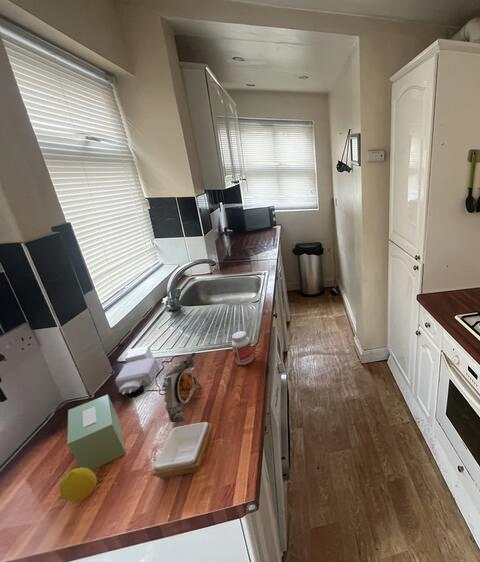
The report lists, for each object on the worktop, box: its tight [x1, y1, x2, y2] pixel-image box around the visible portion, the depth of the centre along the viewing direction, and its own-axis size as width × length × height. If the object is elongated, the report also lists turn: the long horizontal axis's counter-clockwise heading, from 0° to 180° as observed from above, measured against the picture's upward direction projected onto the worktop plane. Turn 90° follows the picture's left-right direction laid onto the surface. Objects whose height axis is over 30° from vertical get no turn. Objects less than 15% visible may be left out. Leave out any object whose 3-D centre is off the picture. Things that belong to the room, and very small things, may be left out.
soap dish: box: [150, 421, 213, 479], centre depth 75 cm, size 12×10×5 cm
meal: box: [161, 352, 202, 424], centre depth 91 cm, size 15×4×13 cm, turn 9°
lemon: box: [59, 467, 98, 503], centre depth 66 cm, size 6×6×8 cm
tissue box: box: [66, 394, 127, 471], centre depth 78 cm, size 8×14×10 cm, turn 42°
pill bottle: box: [231, 330, 254, 366], centre depth 110 cm, size 6×6×11 cm
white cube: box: [124, 345, 154, 364], centre depth 110 cm, size 6×6×6 cm
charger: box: [114, 357, 160, 396], centre depth 101 cm, size 5×9×15 cm
